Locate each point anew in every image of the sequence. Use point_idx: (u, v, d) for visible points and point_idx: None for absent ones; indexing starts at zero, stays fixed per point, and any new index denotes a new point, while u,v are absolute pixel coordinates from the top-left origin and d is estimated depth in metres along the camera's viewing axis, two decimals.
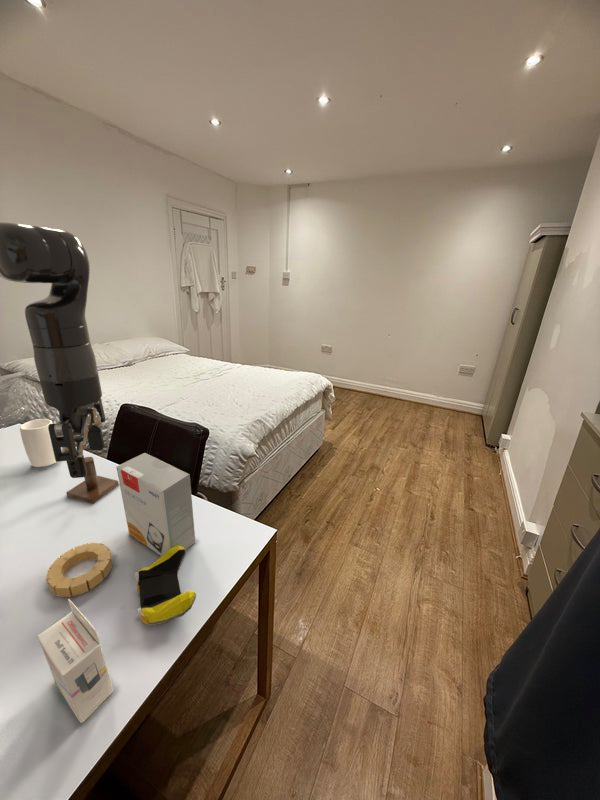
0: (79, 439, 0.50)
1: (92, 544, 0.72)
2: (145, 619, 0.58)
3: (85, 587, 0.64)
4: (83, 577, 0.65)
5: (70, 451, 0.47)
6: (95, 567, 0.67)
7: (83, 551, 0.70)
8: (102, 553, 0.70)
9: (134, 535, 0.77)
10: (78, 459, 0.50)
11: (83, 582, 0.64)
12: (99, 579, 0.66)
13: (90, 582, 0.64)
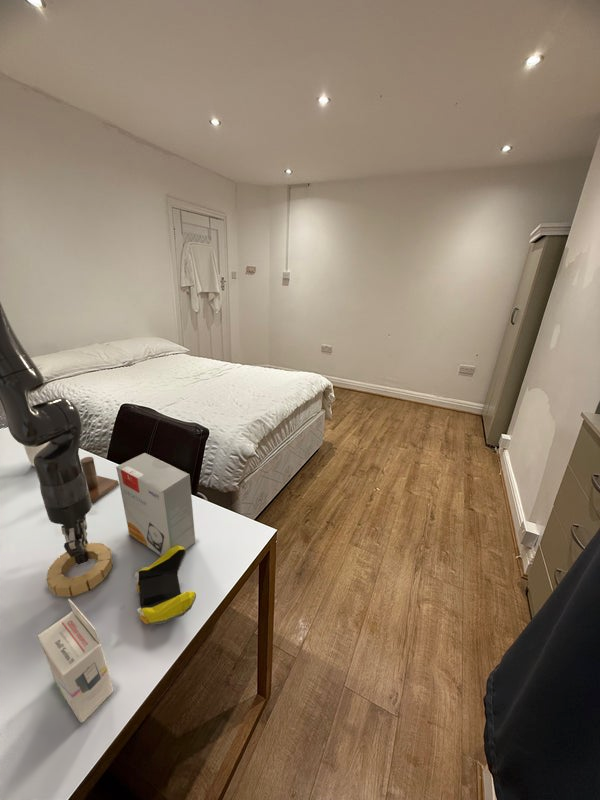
0: (82, 540, 0.68)
1: (92, 544, 0.72)
2: (145, 619, 0.58)
3: (85, 587, 0.64)
4: (83, 577, 0.65)
5: (82, 551, 0.66)
6: (95, 567, 0.67)
7: None
8: (102, 553, 0.70)
9: (134, 535, 0.77)
10: None
11: (83, 582, 0.64)
12: (99, 579, 0.66)
13: (90, 582, 0.64)
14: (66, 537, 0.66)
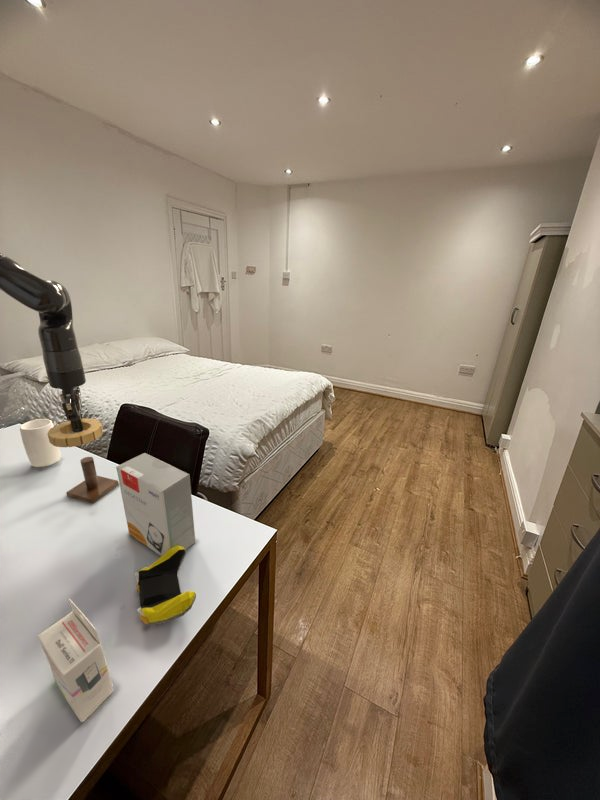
0: (77, 409, 0.82)
1: (86, 419, 0.86)
2: (145, 619, 0.58)
3: (79, 441, 0.78)
4: (77, 434, 0.78)
5: (76, 415, 0.80)
6: (88, 430, 0.80)
7: None
8: (94, 423, 0.84)
9: (134, 535, 0.77)
10: (78, 419, 0.83)
11: (77, 436, 0.77)
12: (91, 438, 0.80)
13: (83, 437, 0.78)
14: None
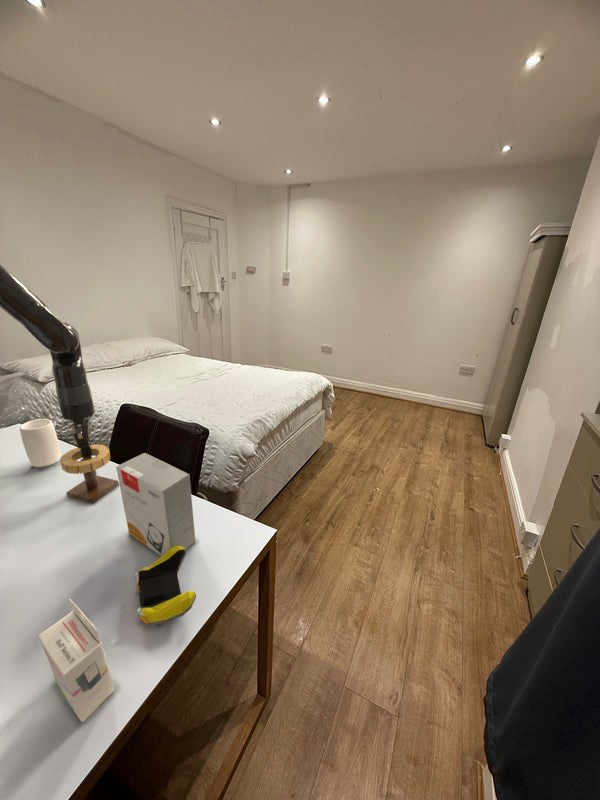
0: (87, 437, 0.89)
1: (95, 445, 0.93)
2: (145, 619, 0.58)
3: (89, 468, 0.85)
4: (88, 461, 0.85)
5: (87, 444, 0.87)
6: (97, 456, 0.88)
7: None
8: (102, 449, 0.91)
9: (134, 535, 0.77)
10: (88, 446, 0.90)
11: (88, 463, 0.84)
12: (100, 465, 0.87)
13: (93, 464, 0.85)
14: (75, 433, 0.87)
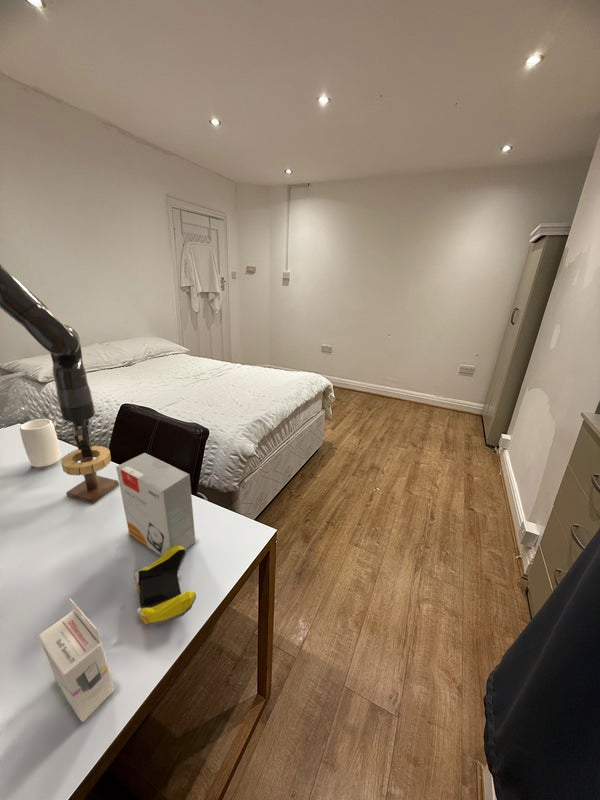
0: (87, 438, 0.89)
1: (95, 446, 0.93)
2: (145, 619, 0.58)
3: (90, 469, 0.85)
4: (89, 462, 0.86)
5: (87, 445, 0.87)
6: (98, 458, 0.88)
7: None
8: (103, 451, 0.91)
9: (134, 535, 0.77)
10: (88, 448, 0.90)
11: (89, 465, 0.85)
12: (101, 466, 0.87)
13: (94, 466, 0.86)
14: (75, 435, 0.88)
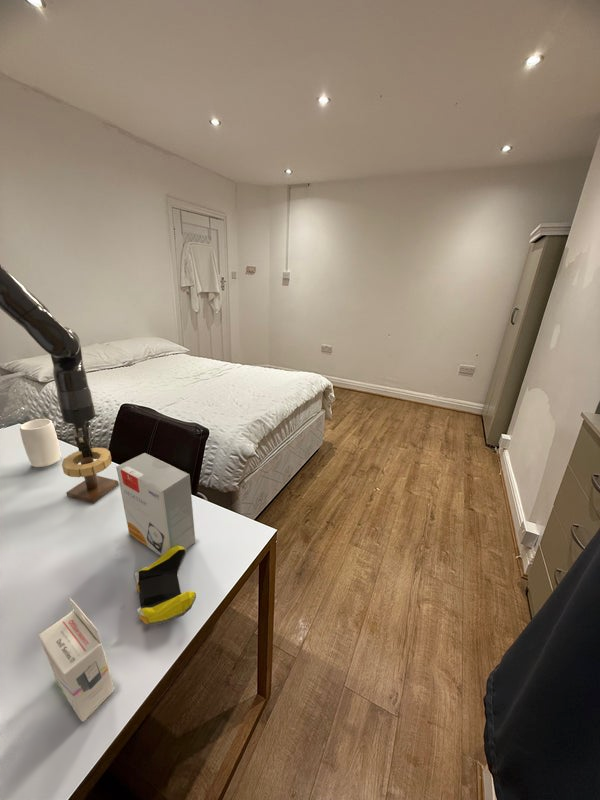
0: (88, 440, 0.89)
1: (96, 448, 0.94)
2: (145, 619, 0.58)
3: (90, 471, 0.85)
4: (89, 464, 0.86)
5: (88, 447, 0.88)
6: (98, 460, 0.88)
7: None
8: (104, 453, 0.92)
9: (134, 535, 0.77)
10: (89, 450, 0.91)
11: (89, 467, 0.85)
12: (101, 468, 0.87)
13: (94, 468, 0.86)
14: (76, 436, 0.88)
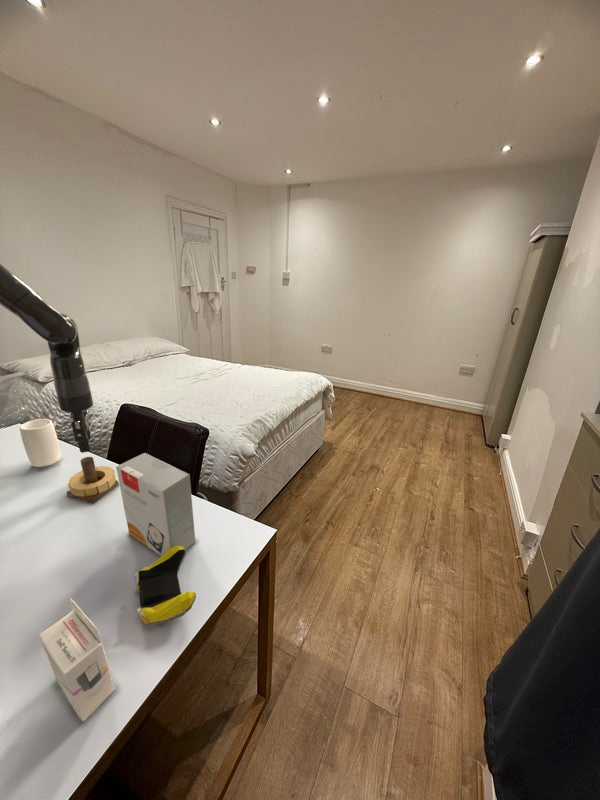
0: (85, 429, 0.87)
1: (101, 466, 0.97)
2: (145, 619, 0.58)
3: (95, 491, 0.89)
4: (94, 484, 0.89)
5: (84, 435, 0.84)
6: (102, 479, 0.92)
7: None
8: (108, 472, 0.95)
9: (134, 535, 0.77)
10: (85, 440, 0.87)
11: (94, 487, 0.88)
12: (105, 487, 0.91)
13: (99, 487, 0.89)
14: None
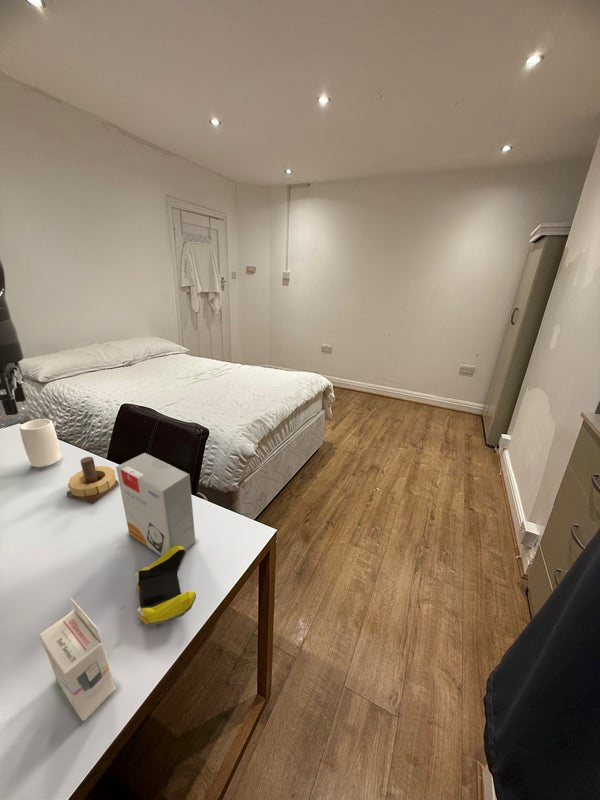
0: (11, 386, 0.72)
1: (101, 466, 0.97)
2: (145, 619, 0.58)
3: (95, 491, 0.89)
4: (94, 484, 0.89)
5: (7, 392, 0.70)
6: (102, 479, 0.92)
7: None
8: (108, 472, 0.95)
9: (134, 535, 0.77)
10: (11, 400, 0.72)
11: (94, 487, 0.88)
12: (105, 487, 0.91)
13: (99, 487, 0.89)
14: None
